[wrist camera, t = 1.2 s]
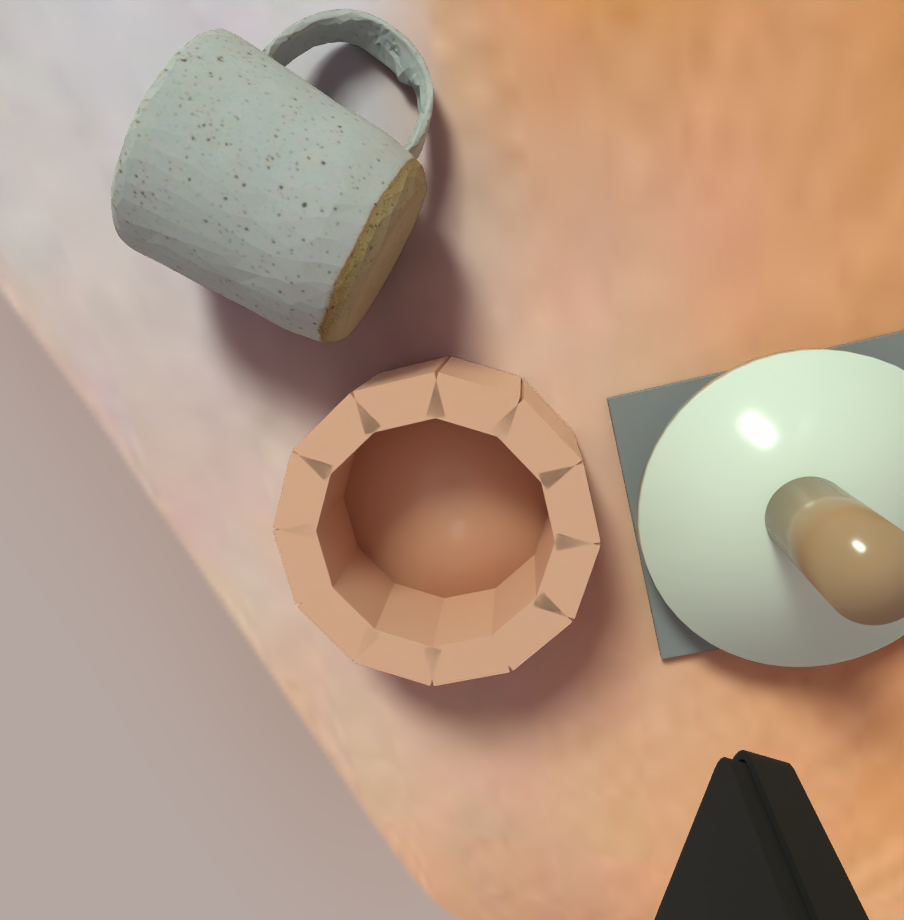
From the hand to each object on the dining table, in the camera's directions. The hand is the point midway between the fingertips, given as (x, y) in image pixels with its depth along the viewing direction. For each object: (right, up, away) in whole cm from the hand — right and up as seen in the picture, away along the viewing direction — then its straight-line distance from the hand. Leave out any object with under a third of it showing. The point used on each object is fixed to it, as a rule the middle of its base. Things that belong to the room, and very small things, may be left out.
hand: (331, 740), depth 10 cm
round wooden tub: (+1, +2, +23) cm, 23 cm away
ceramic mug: (-3, +14, +20) cm, 25 cm away
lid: (+15, +2, +21) cm, 26 cm away
